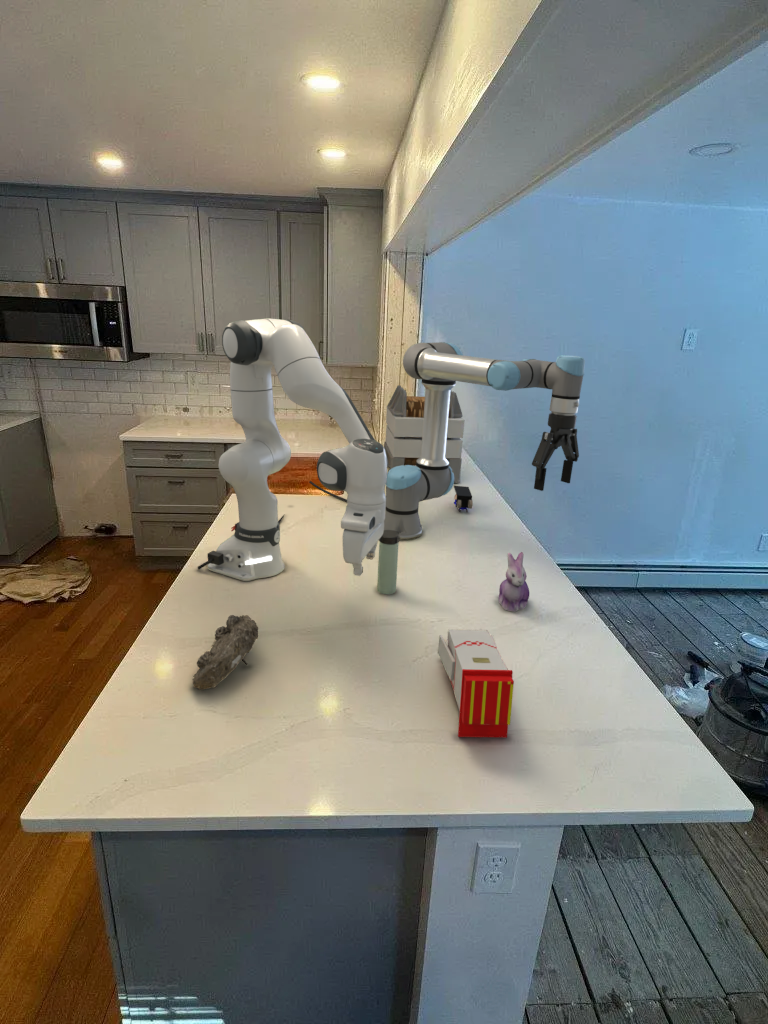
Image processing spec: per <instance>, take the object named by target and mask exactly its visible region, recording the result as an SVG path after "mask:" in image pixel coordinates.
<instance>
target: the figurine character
mask: <svg viewBox="0 0 768 1024" xmlns="http://www.w3.org/2000/svg"><path fill="white" fill-rule="evenodd" d="M453 488H454V492H455V495H454V499H453V500H454V502H453V504H454V505H455V508H456V509H458V512H459V513H462V511H465V512H466V513H469V510H468V509H470V510H471V509H473V507H474V503H473V502H474V501H473V495H472V492H471V489H470V486H463V485H453Z"/></svg>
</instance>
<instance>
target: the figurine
mask: <svg viewBox="0 0 768 1024" xmlns="http://www.w3.org/2000/svg"><path fill="white" fill-rule="evenodd" d="M506 556H507V569H506V571H505V579H504V580H502V581H501V583H500V585H499V591H498V592H499V593H498V597H497V598H498V600H497V601H498V604H499V605H500V606H501V607H502V609H503V610H505V611H507V612H508V611H509V612H518V611H520V610H521V611H522V610H524V609H525V608H526V607H527V605H528V601H529V599H530V588H529V585H528V584H527V581H526V580H527V571H526V570H525V567H524V552H523V551H520V552H519V553H518V555H517V557H516V559H515V557H514V556H513V554H512V553H511V552H508V553H507V555H506Z"/></svg>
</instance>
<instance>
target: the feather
mask: <svg viewBox="0 0 768 1024" xmlns="http://www.w3.org/2000/svg"><path fill="white" fill-rule="evenodd" d="M285 515H286V514H283V515H282V516H281V518H279V519H278V522H279V525H281V522H282V520H283V519H284V516H285Z"/></svg>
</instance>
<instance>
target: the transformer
mask: <svg viewBox="0 0 768 1024" xmlns="http://www.w3.org/2000/svg"><path fill="white" fill-rule="evenodd" d="M407 394H408V393H407V390H406V389H404V388H403V387H402V385H399V384H398V385H397V386H396V388H395V390H394V392H393V394H392V395H391V398H390V400H389V402H388V404H387V405H386V413H385V414H386V415H385V423H386V428H385V438H384V442H383V447H384V449H385V452H386V456H387V461H388V466H387V468H389V470H390V469H392V468H394V467H396V466H401V465H404V466H405V465H413V466H416V461H417V459H418V458H420V457H421V449H422V434H423V419H424V404H425V396H415V395H414V396H413V395H412V396H411V395H407ZM464 429H465V419H464V418H463V411H462V408H461V405H460V402H459V398H458V395H457V392H455V391H453V390H451V392H450V404H449V416H448V428H447V441H446V453H445V458H446V459H447V461H448V462H449V466H450V467H451V469H452V473H454V484H455V483H456V484H459V483H461V472H462V461H463V460H462V453H463V442H464V441H463V440H462V439H463V438H464V431H465V430H464Z"/></svg>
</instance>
